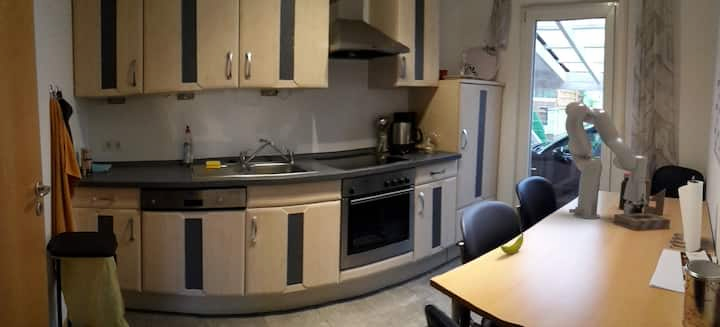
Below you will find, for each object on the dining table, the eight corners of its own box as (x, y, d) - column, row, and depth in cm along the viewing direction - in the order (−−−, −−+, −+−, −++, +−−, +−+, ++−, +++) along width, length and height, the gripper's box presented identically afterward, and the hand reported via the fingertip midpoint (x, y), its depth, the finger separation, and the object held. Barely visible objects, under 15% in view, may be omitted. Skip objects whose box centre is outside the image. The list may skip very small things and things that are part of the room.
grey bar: (628, 219, 273) (630, 204, 271) (623, 218, 276) (624, 202, 275) (643, 219, 275) (644, 204, 274) (637, 217, 279) (638, 202, 278)
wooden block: (662, 215, 284) (665, 182, 281) (639, 212, 290) (642, 180, 287) (663, 214, 287) (666, 181, 284) (640, 211, 293) (644, 179, 290)
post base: (634, 230, 251) (635, 221, 250) (613, 223, 264) (614, 214, 264) (669, 228, 256) (670, 219, 255) (646, 221, 269) (647, 212, 269)
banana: (496, 258, 204) (497, 242, 203) (518, 248, 218) (519, 233, 217) (503, 260, 202) (504, 243, 201) (525, 249, 216) (526, 234, 215)
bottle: (634, 210, 294) (637, 174, 291) (620, 209, 296) (624, 174, 293) (630, 208, 301) (633, 173, 298) (617, 207, 302) (620, 172, 299)
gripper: (618, 176, 280) (615, 210, 283) (643, 182, 264) (640, 218, 266) (630, 176, 282) (627, 209, 285) (656, 182, 266) (652, 217, 268)
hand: (633, 213), depth 275 cm, fingers open, 6 cm apart
